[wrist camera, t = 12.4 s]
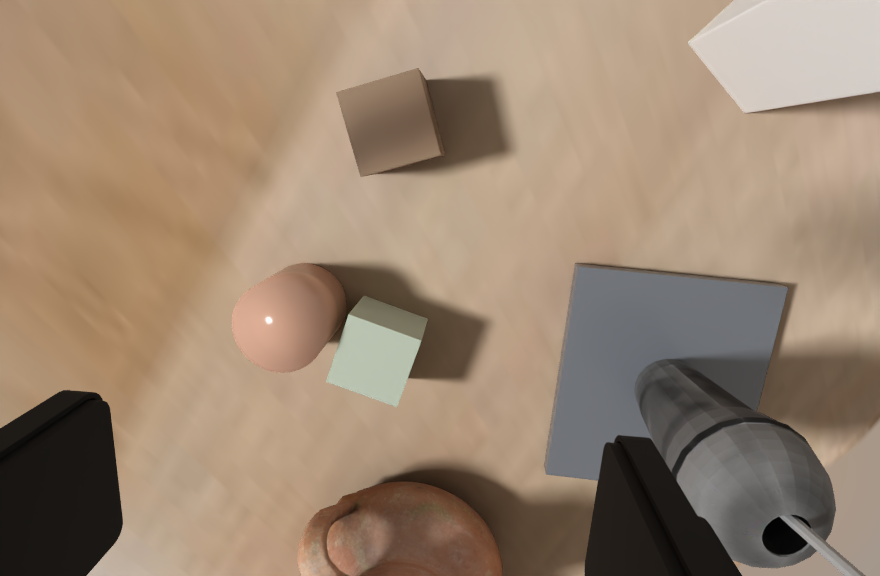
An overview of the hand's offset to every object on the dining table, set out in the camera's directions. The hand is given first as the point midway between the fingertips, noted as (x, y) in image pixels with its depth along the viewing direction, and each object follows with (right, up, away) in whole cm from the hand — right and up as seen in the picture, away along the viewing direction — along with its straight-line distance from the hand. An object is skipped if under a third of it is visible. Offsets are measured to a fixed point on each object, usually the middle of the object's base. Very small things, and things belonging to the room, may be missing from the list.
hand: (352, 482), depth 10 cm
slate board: (+17, -3, +30) cm, 34 cm away
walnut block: (-1, +14, +27) cm, 30 cm away
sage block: (-2, 0, +30) cm, 30 cm away
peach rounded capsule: (-8, +3, +30) cm, 31 cm away
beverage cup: (+18, -3, +29) cm, 34 cm away
